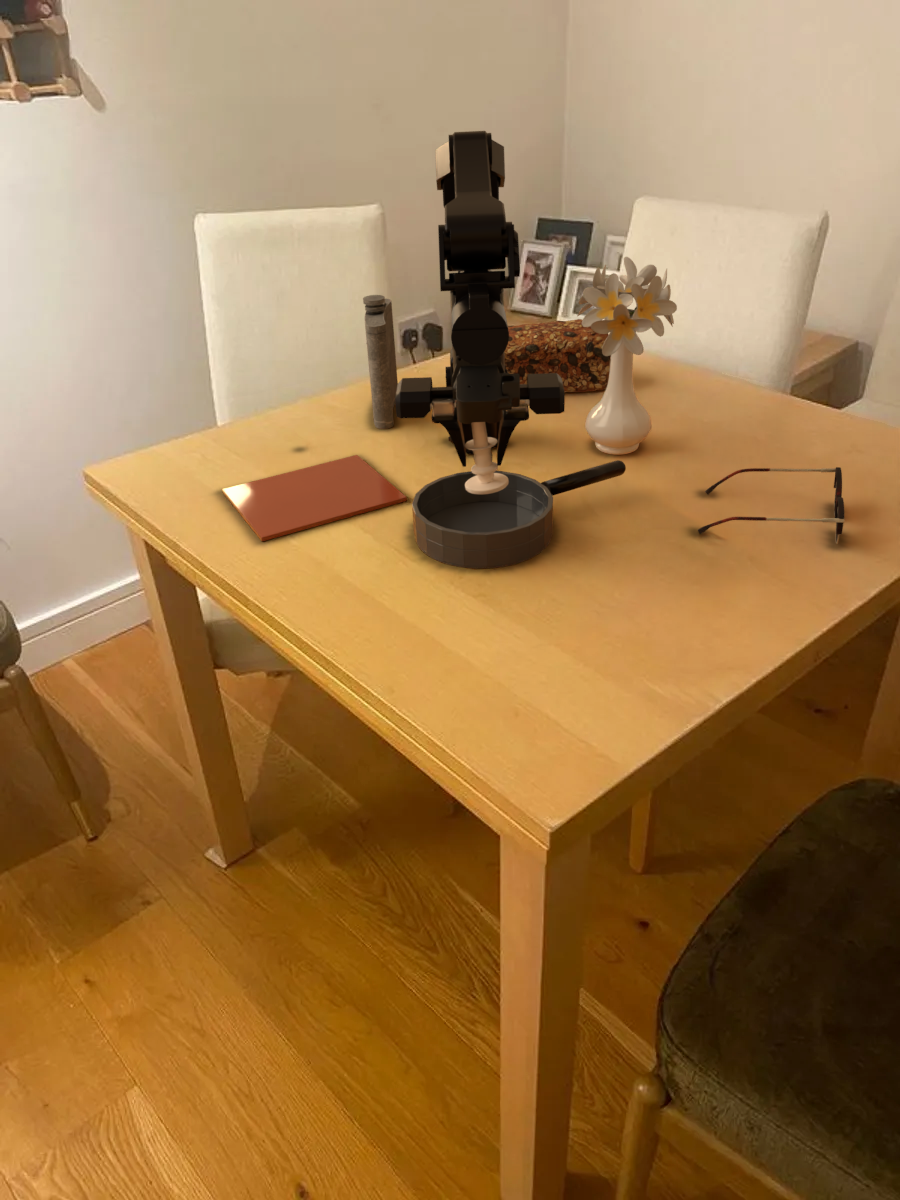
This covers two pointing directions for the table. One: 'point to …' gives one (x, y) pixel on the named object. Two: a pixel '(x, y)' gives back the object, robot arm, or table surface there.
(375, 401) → the flask
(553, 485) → the pan handle
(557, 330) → the bread
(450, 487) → the pan
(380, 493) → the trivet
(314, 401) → the table surface
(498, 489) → the candle
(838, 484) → the sunglasses
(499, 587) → the table surface
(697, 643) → the table surface
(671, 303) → the flower vase
